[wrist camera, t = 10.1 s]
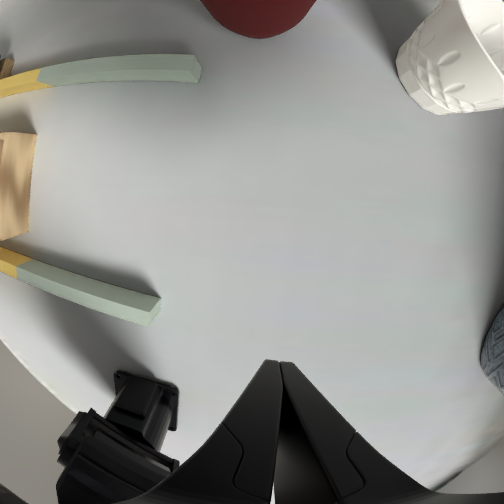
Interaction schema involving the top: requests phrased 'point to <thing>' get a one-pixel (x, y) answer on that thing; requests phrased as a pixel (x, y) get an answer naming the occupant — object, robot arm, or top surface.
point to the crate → (15, 182)
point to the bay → (86, 71)
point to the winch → (5, 67)
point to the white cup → (456, 58)
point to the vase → (494, 352)
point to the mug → (258, 15)
